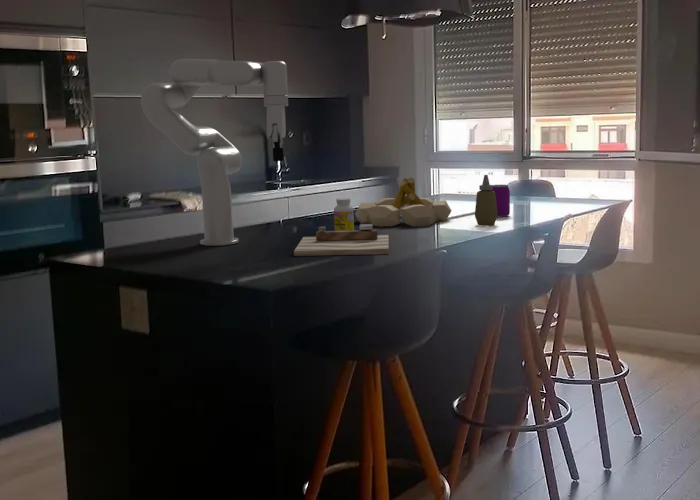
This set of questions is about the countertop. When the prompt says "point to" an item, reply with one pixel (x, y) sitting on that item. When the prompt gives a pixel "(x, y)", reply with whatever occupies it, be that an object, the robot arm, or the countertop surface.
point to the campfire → (403, 209)
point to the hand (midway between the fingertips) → (278, 160)
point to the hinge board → (343, 245)
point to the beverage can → (502, 200)
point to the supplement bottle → (343, 215)
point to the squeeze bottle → (486, 204)
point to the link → (346, 235)
